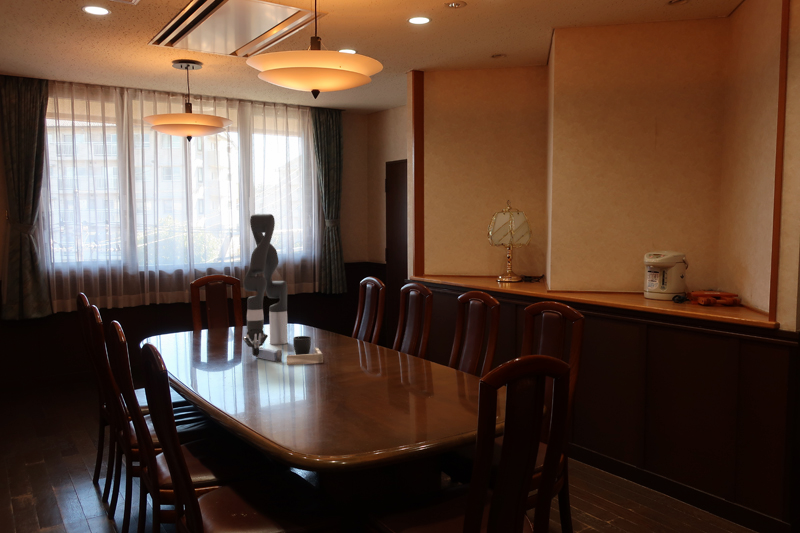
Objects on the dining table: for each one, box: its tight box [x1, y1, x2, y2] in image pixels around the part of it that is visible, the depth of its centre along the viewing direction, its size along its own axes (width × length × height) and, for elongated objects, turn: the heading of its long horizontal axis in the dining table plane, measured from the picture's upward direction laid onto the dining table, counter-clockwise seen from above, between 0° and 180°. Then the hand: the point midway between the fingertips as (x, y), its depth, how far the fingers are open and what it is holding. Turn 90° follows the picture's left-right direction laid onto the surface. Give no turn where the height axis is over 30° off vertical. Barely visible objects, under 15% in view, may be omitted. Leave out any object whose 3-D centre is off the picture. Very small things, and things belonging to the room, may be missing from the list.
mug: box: [292, 335, 312, 355], centre depth 285 cm, size 8×12×10 cm
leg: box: [254, 346, 277, 362], centre depth 280 cm, size 14×3×4 cm, turn 51°
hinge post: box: [275, 349, 283, 363], centre depth 274 cm, size 2×2×5 cm
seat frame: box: [286, 347, 324, 366], centre depth 277 cm, size 15×16×4 cm
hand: (255, 355), depth 279 cm, fingers closed
